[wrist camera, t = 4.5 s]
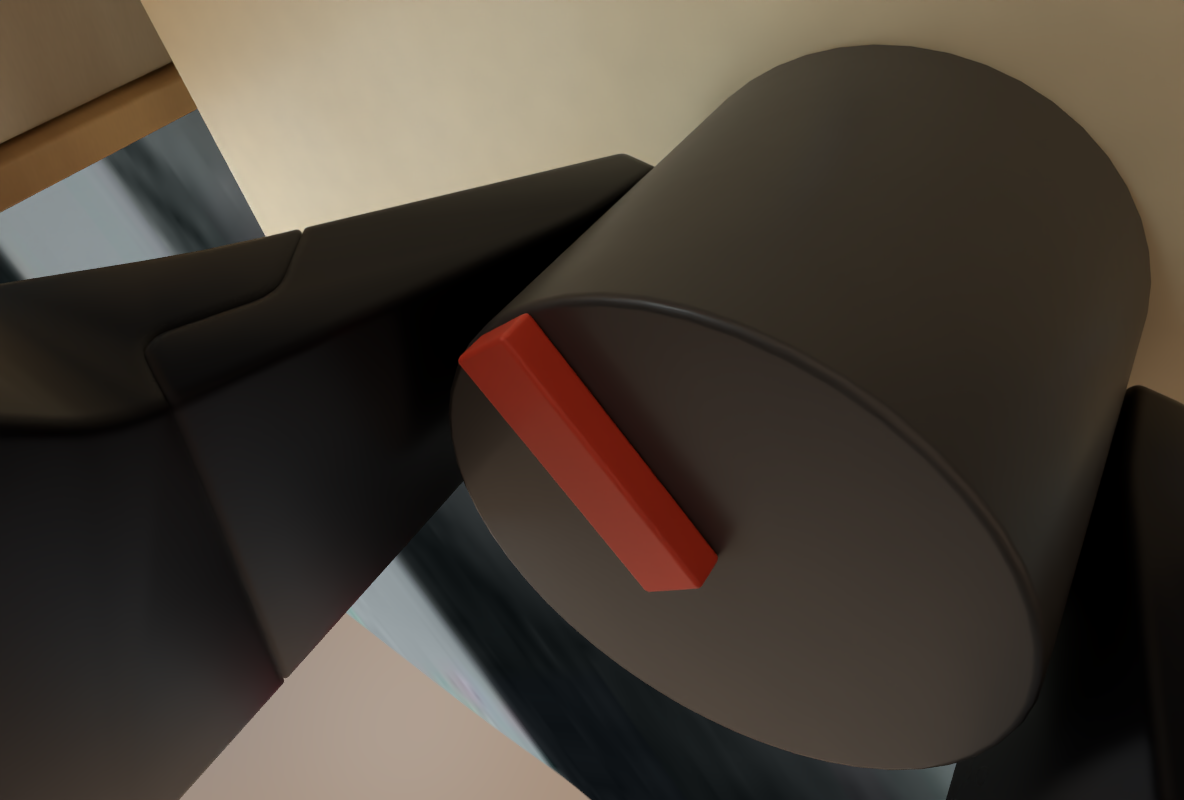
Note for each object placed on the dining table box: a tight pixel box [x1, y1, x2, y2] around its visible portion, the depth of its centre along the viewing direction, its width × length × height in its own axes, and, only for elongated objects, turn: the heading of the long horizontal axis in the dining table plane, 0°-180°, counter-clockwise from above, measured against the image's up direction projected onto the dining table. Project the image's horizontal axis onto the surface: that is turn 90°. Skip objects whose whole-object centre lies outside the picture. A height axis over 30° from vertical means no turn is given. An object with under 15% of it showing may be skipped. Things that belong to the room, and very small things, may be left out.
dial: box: [449, 44, 1151, 770], centre depth 7 cm, size 4×4×4 cm
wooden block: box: [140, 0, 1184, 404], centre depth 10 cm, size 14×13×4 cm
